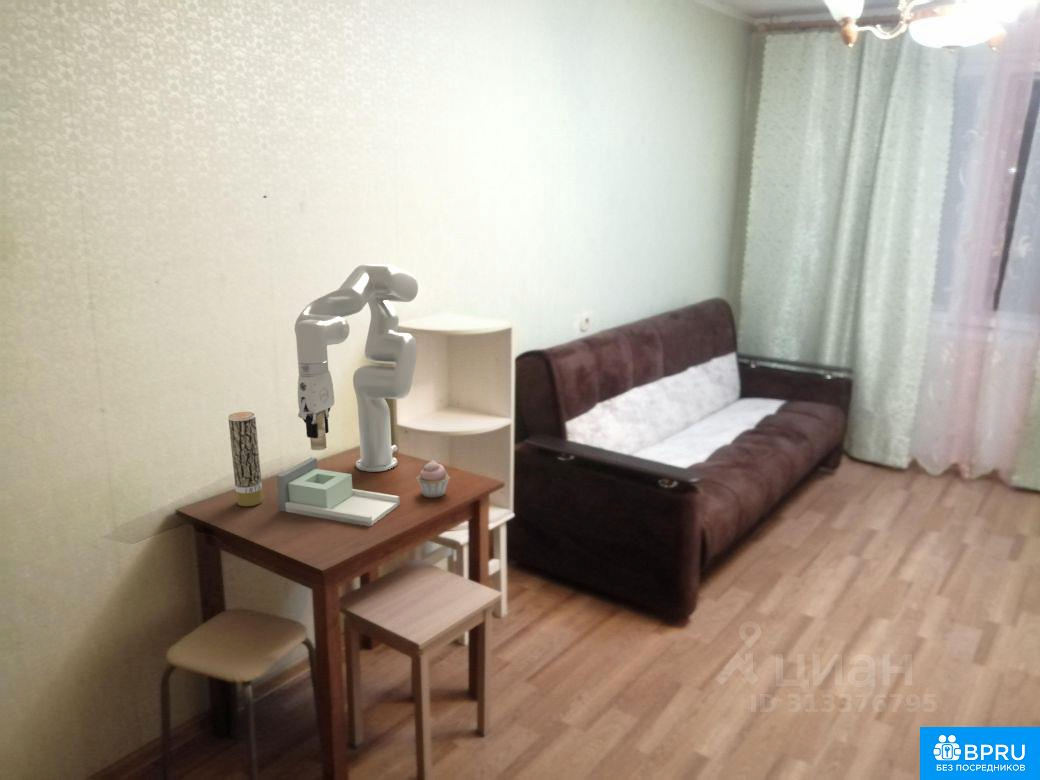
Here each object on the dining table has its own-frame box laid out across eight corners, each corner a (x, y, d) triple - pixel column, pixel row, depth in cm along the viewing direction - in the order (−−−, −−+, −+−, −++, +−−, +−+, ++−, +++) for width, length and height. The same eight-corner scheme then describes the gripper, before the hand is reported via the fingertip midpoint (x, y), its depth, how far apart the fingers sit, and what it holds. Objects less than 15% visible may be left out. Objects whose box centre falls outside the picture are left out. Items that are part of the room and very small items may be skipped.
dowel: (317, 444, 212) (314, 401, 209) (329, 446, 210) (326, 403, 207) (307, 448, 208) (304, 405, 205) (319, 451, 207) (316, 407, 204)
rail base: (313, 490, 223) (310, 457, 221) (399, 504, 214) (398, 470, 211) (279, 510, 210) (276, 475, 207) (370, 526, 200) (368, 490, 198)
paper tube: (231, 504, 214) (222, 417, 207) (249, 496, 219) (241, 410, 213) (250, 509, 211) (241, 420, 204) (268, 500, 217) (260, 413, 210)
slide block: (316, 488, 221) (314, 468, 219) (352, 494, 217) (351, 474, 215) (289, 504, 210) (287, 483, 209) (327, 511, 206) (325, 489, 204)
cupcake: (450, 486, 226) (449, 454, 224) (450, 499, 217) (449, 465, 215) (417, 487, 226) (416, 455, 223) (416, 500, 217) (414, 466, 214)
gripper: (305, 376, 195) (310, 446, 200) (343, 362, 210) (347, 427, 215) (280, 373, 198) (286, 442, 202) (320, 360, 213) (324, 424, 217)
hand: (317, 434), depth 208 cm, fingers closed on dowel, 3 cm apart
